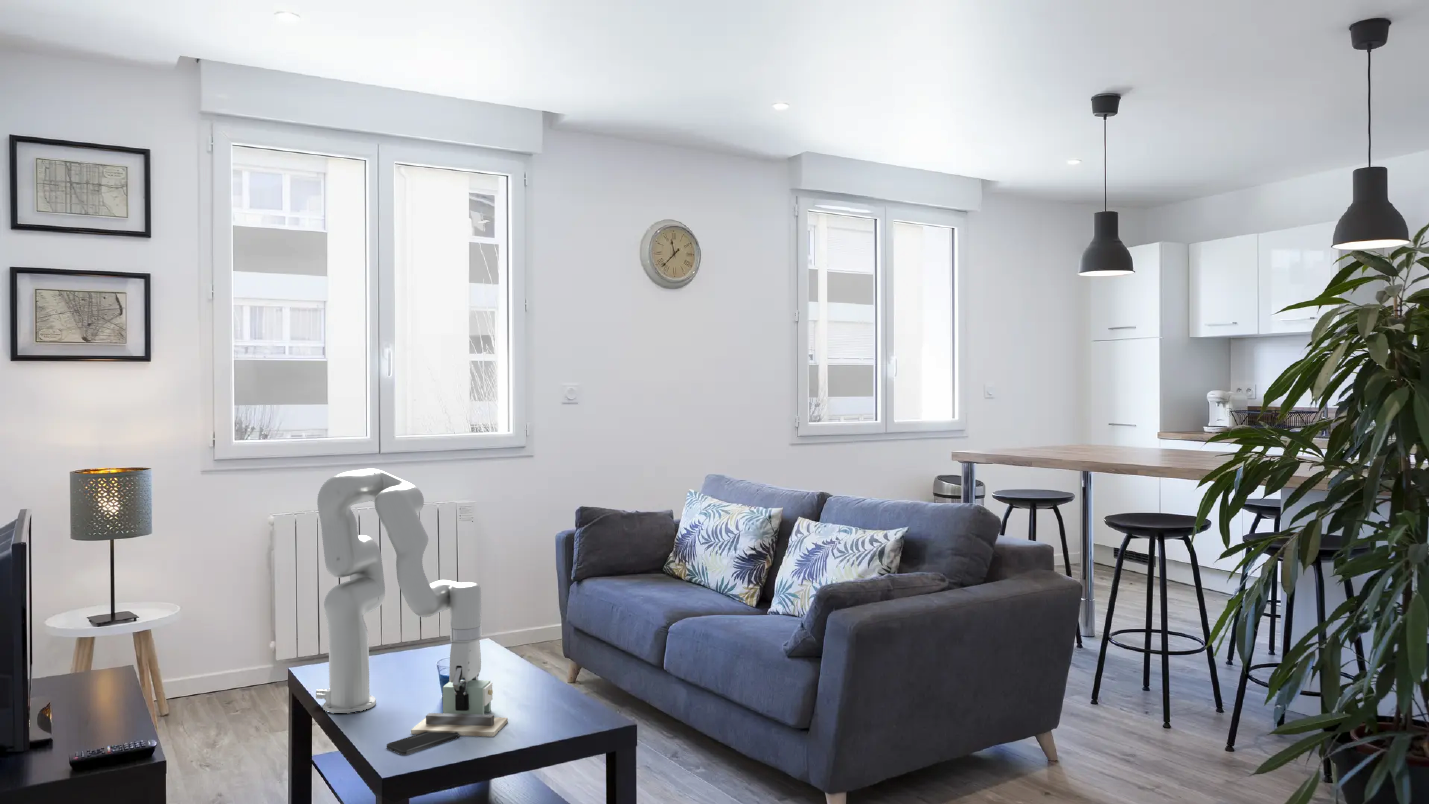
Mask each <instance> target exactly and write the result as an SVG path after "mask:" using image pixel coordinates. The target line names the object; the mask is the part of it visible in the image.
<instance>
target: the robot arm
mask: <svg viewBox="0 0 1429 804" xmlns="http://www.w3.org/2000/svg"><path fill="white" fill-rule="evenodd" d="M316 499H317V500H316V501H317V502H316V504H317V510H318V515H319V521H320V527H321V528H320V529H321V537H322V547H323V548H322V549H323V556H324V563H325V567H326V570H327V572H328V574H330V576H332V577H334V578H338V579H339V578H346V577H349V580H347V581H345V582H342V583H339V584H337V585H335V586H333V587H332V588H331V589H330V590H329V591H328V592H327V593H326V596H325V598H324V602H323V611H324V615H325V620H326V625H327V635H328V636H327V637H328V667H329V668H328V669H329V670H328V674H329V675H328V677H329V678H328V680H329V683H328V685H329V688H328V689H326V688H317V689H316V692H315V699H316V700H322V699H323V700H324V701H325V702H324V703H323V706H322V709H323V711H324V710H325V712H326V711H329V712H334V713H347V714H351V713H350V712H355V711H360V712H362V711H363V710H364V711H366V709H367V710H369V709H371V708H373V707H375V705H376V704H377V699H376V697H375V696H374V695H370V652H369V651H370V649H369V648H370V646H369V631H368V627H367V625H366V622H365V619H364V615H366V614H369V613H371V612H374V611H376V610H377V609H379V607H381V606H382V604H383V603H384V601H385V596H386V585H385V575H384V567H383V559H382V554H381V549H380V547H379V545H378V543H377V541H375V539H374V538H372V537H371V536H369V535H365V534H359V531H358V522H357V518H356V516H355V514H354V511H352V509H351V507H352V506H354V505H357V504H362V503H368V502H373V504H374V508H375V511H376V513H377V516H378V518H379V520H380V522H381V524H382V526H383V529H384V531H385V532H386V534H387V536H388V539H389V540H390V543H391V545H392V547H393V548H394V551H395V554H396V558H395V559H396V560H395V566H396V567H395V569H396V570H395V571H396V578H397V583H398V586H399V589H400V591H401V593H402V596H403V598H404V599H405V602H406V604H407V606H408V608H410V610H411V611H412V613H413V614H414V615H416V616H418V617H420V618H430V617H432V616H435V615H437V614H438V613H441V612H444V611H446V610H449V630H450V631H449V632H450V634H449V639H450V642H451V644H450V653H449V669H448V671H449V674H448V676H449V679H448V680H449V682H452V683H453V687H454V690H455V709H456V710H457V711H467V710H469V694H467V689H468V682H469V681H471V680H479V675H480V673H481V669H482V655H481V642H480V640H482V639H483V637H482V635H483V634H482V632H483V631H482V590H481V586H480V584H478V582H477V583H476V582H471V581H466V582H465V581H464V582H462V581H461V582H459V581H454V580H448V579H439V580H435V581H433V582H431V583H430V582H429V580H428V578H427V576H426V573H425V570H424V567H423V565H424V564H423V557H424V554H425V550H426V548H427V545H429V544H428V543H429V536H428V534H427V532H426V530H425V527H424V525H423V524H422V522H421V519H420V518H419V515H418V514H419V513H420V512H421V511H422V510H423V507H424V505H425V504H424V503H425V500H424V495H423V493H422V492H421V490H420V489H419V488H418V487H417V486H416V485H415V484H414V483H413V484H412V483H411V482H409V481H406V480H404V479H401V478H399V477H397V476H395V475H392V474H390V473H388V472H385V471H384V470H380V469H377V468H362V469H356V470H349V471H344V472H339V473H337V474H335V475H333V476H331V477H329V478H328V479H327V480H326V481H325V482H324V483H323V484H322V485H321V487H320V489H319V492H318V494H317V498H316ZM460 680H464V681H460ZM461 684H464V688H463V686H461ZM334 713H333V714H334ZM355 713H356V712H355Z"/></svg>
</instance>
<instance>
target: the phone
mask: <svg viewBox="0 0 1429 804" xmlns="http://www.w3.org/2000/svg"><path fill="white" fill-rule="evenodd" d="M459 738H460V735H459V733H458V732H455V733H442V732H427V731H426V732H423V733H420V734H412V735H411V736H408V737H404V738H401V739H398V740H394V741H391V742H389V743H387V744H386V749H387V748H388V749H389V751H391V750H392V751H391V752H393V751H395V752H394V753H396V754H398V753H399V755H400V754H402V755H401V756H407V755H411V754H415V753H417V752H420V751H423V750H426V749H429V748H432V747H436V746H438V745H441V744H444V743H448V742H450V741H453V740H457V739H459ZM388 749H387V750H388Z"/></svg>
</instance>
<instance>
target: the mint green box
mask: <svg viewBox="0 0 1429 804" xmlns="http://www.w3.org/2000/svg"><path fill="white" fill-rule="evenodd" d="M464 680H465V679H461V680H460V681H464ZM461 686H463V688H464V684H461ZM493 692H494V691H493V682H491V680H484V679H483V680H482V679H481V680H479V679H478V680H471V681H469V682H468V689H467V694H469V710H467V711H457V710H456V709H455V690H454V687H453V683H452V682H450V681H448V682H447V683H446V684H444V685H443V686H442V713H448V714H485V713H490V712H491V711H492V701H493V694H494V693H493Z"/></svg>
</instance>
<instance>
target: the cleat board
mask: <svg viewBox="0 0 1429 804" xmlns="http://www.w3.org/2000/svg"><path fill="white" fill-rule="evenodd" d="M508 721H509V719H508V717H495V714H485V713H484V714H448V713H443V712H429V713H427V714H426V715H425V718H423V719H422V720H421V721H420V722H418V723H417V724H416V725H415V726H414V727H412V728H411V729H410V735H417V734H420V733H423V732H426V731H427V732H442V733H455V732H458V733H459V736H463V737H464V736H465V737H466V736H469V737H495V736H497V734H498V733H499V732H500V731H501V730H502V729H503V728H504V726H505V725H506V724H507V723H508ZM498 731H499V732H498Z"/></svg>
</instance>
